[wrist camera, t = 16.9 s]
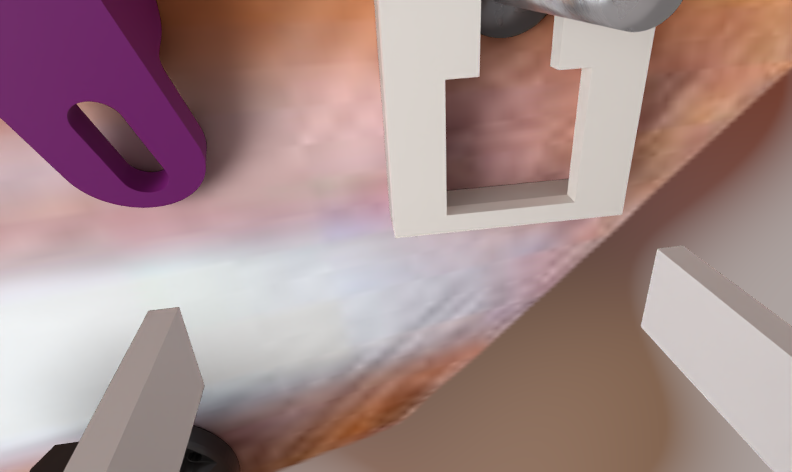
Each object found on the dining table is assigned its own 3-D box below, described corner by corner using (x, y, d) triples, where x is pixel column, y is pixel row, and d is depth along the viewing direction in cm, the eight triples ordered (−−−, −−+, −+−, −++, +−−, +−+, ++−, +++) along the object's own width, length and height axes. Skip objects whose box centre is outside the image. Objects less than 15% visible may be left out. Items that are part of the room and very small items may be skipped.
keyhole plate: (595, 191, 43) (622, 214, 39) (389, 212, 42) (395, 238, 38) (646, -155, 31) (691, -173, 28) (363, -140, 30) (368, -156, 26)
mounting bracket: (228, 117, 43) (94, -125, 28) (227, 190, 38) (64, -56, 23) (121, 143, 43) (-69, -84, 28) (107, 219, 38) (-132, -7, 23)
